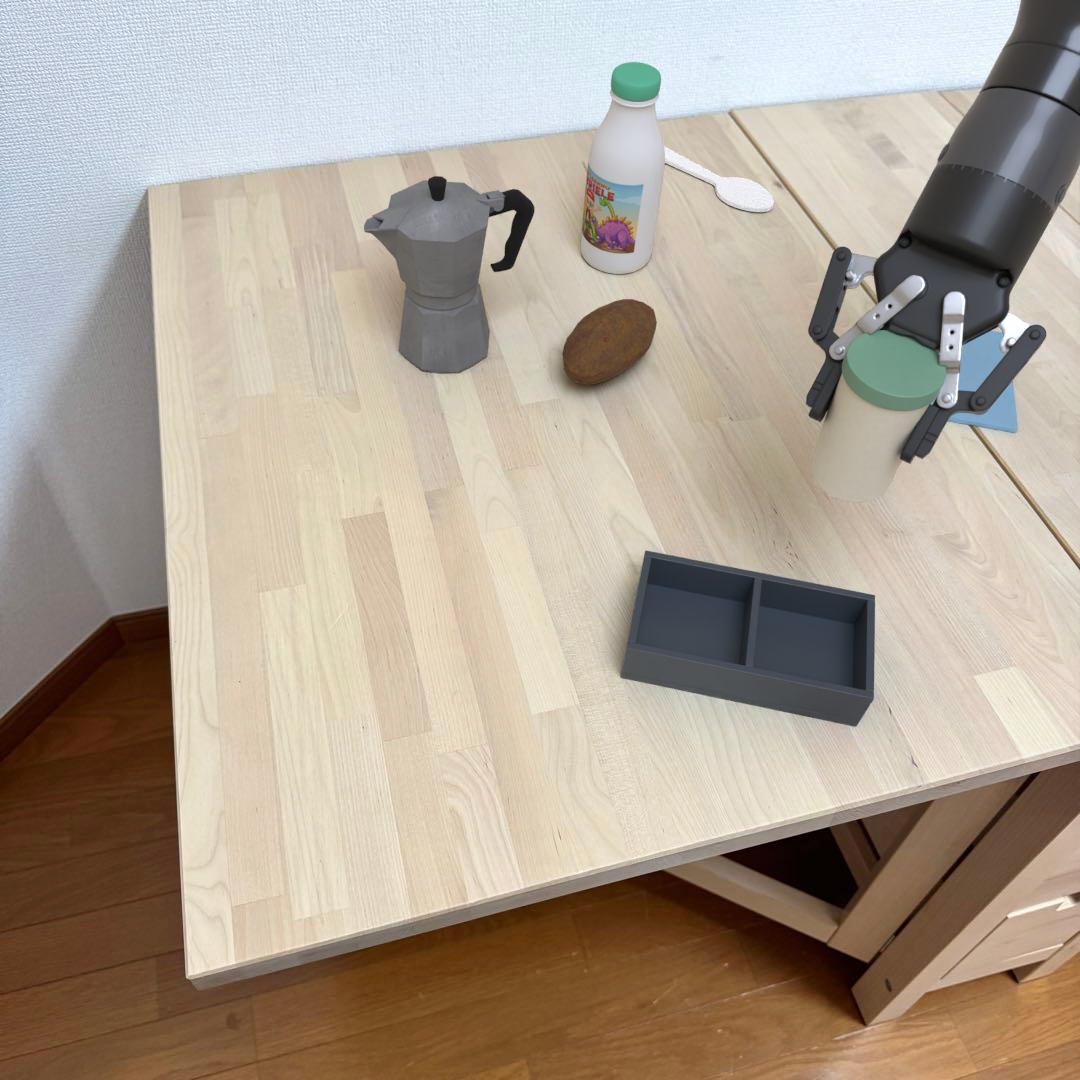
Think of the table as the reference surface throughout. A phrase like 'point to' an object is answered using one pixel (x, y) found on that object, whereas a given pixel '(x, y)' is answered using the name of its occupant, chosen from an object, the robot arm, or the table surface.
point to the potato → (609, 341)
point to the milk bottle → (625, 174)
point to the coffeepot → (446, 266)
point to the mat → (973, 371)
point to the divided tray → (752, 638)
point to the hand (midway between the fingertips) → (859, 438)
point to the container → (874, 414)
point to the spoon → (726, 185)
